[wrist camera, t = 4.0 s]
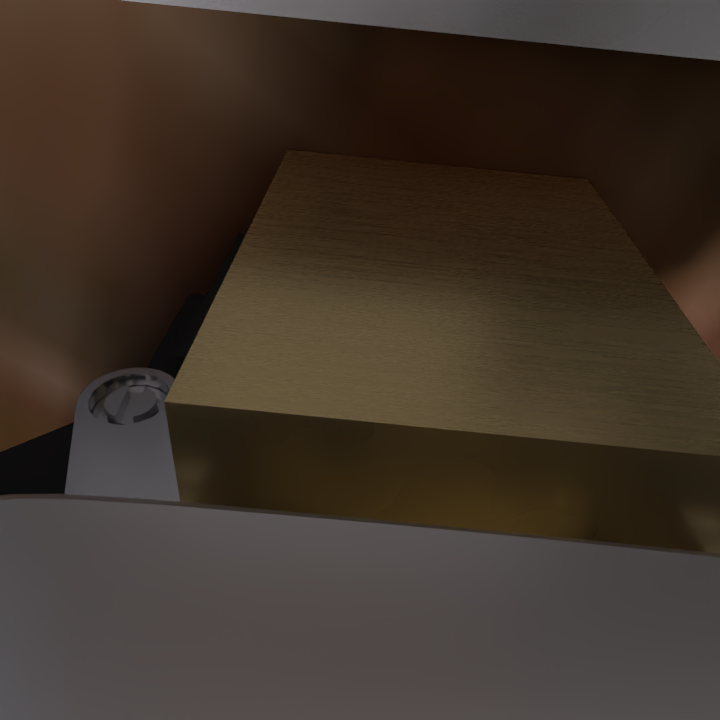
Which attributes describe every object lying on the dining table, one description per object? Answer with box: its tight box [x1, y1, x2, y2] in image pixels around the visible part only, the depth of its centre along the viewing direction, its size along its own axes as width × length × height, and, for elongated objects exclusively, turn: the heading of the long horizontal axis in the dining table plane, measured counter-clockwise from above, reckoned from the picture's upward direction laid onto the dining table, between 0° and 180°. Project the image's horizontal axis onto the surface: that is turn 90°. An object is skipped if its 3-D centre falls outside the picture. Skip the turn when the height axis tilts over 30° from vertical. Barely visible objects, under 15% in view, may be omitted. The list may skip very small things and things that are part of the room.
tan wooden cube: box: [164, 149, 720, 553], centre depth 10 cm, size 6×6×7 cm
